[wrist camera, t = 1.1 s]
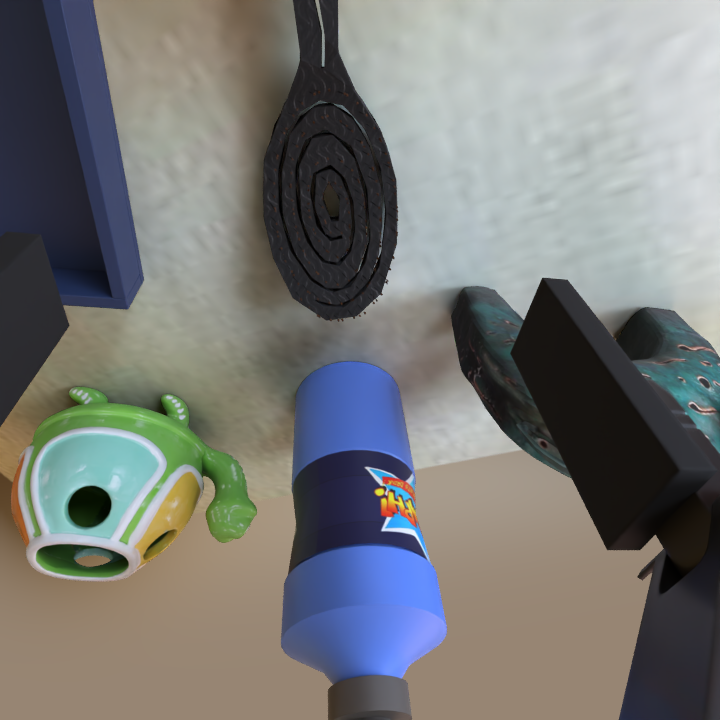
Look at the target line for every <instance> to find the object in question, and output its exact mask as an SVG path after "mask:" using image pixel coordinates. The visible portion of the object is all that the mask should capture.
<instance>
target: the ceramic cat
mask: <svg viewBox="0 0 720 720" xmlns="http://www.w3.org/2000/svg"><path fill="white" fill-rule="evenodd" d="M451 318H452V326H453V330H454V337H455V342H456V347H457V351H458V357H459V362H460V366H461V370H462V372H463V374H464V376H465V377H466V378H467V379H468V381H469V382H470V383H471V384H472V386H473V387H474V388H475V390H476V392H477V394H478V396H479V397H480V399H481V401H482V403H483V404H484V406H485V408H486V409H487V411H488V412H489V413H490V415H491V416H492V417H493V419H494V420H495V421H496V423H497V424H498V425H499V427H500V428H501V429H502V431H503V432H504V433H505V434H506V435H507V436H508V437H509V438H510V439H512V440H513V441H514V442H515V443H516V444H517V445H518V446H519V447H521V448H522V449H523V450H525V451H526V452H527V453H529V454H530V455H531V456H533V457H534V458H536V459H537V460H539V461H541V462H543V463H544V464H546V465H547V466H549V467H551V468H553V469H555V470H556V471H558V472H560V473H562V474H564V475H566V476H568V477H570V478H571V476H570V474H569V472H568V469H567V467H566V465H565V463H564V461H563V459H562V457H561V455H560V453H559V451H558V449H557V447H556V445H555V443H554V441H553V439H552V437H551V435H550V433H549V431H548V429H547V427H546V425H545V423H544V421H543V419H542V417H541V415H540V413H539V411H538V409H537V407H536V405H535V403H534V401H533V399H532V397H531V394H530V392H529V390H528V388H527V386H526V384H525V382H524V380H523V378H522V376H521V374H520V372H519V370H518V368H517V366H516V364H515V362H514V360H513V358H512V356H511V354H510V352H511V350H512V348H513V345H514V343H515V341H516V338H517V336H518V334H519V331H520V329H521V327H522V324H523V322H524V320H523V319H522V318H521V317H520V316H519V315H518V314H517V313H516V312H515V311H514V310H513V309H512V308H511V307H510V306H509V305H508V304H507V302H506V301H505V300H504V299H503V298H502V297H501V296H499V295H498V293H497V292H496V291H495V290H491V289H489V288H485V287H466V288H464V289H463V290H462V292H461V294H460V296H459V299H458V302H457V306H456V308H455V309H454V311H453V314H452V316H451ZM616 342H617V343H618V345H619V346H620V347H621V348H622V350H623V351H624V352H625V353H626V355H627V356H628V357H629V359H630V360H631V361H632V362H633V364H634V365H635V366H636V367H637V369H638V370H639V371H640V373H641V374H642V375H643V376H644V378H645V379H649V380H653V381H654V382H656V383H657V384H658V385H660V386H661V387H662V388H664V389H665V390H666V391H667V392H669V393H670V394H671V395H672V396H673V397H674V398H675V399H676V401H677V402H678V403H679V404H680V405H681V407H682V408H683V409H684V410H685V415H689V416H690V418H691V419H692V420H693V421H694V423H695V424H696V425H697V426H696V428H697V429H700V430H701V431H702V432H703V434H704V435H705V436H706V437H707V438H708V440H709V441H710V442H711V443H712V445H713V446H714V447H715V448H716V449H717V451H718V452H719V453H720V357H719V356H718V354H717V353H716V351H715V350H714V348H713V347H712V346H711V344H710V343H709V342H708V341H707V340H706V339H704V338H703V337H702V336H700V335H699V334H698V333H697V332H696V331H694V330H693V329H692V328H691V327H690V326H689V325H688V324H687V323H686V322H685V321H684V320H683V319H682V318H681V317H680V316H679V315H678V314H677V313H676V312H675V311H671V310H664V309H657V308H649V307H646V308H643V309H641V310H640V311H638V312H637V313H636V314H635V315H634V316H633V317H632V318H631V319H630V320H629V322H628V323H627V325H626V327H625V328H624V330H623V332H622V334H621V335H620V337H619V338H618V339H617V340H616Z"/></svg>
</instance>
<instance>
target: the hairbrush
mask: <svg viewBox="0 0 720 720" xmlns="http://www.w3.org/2000/svg"><path fill="white" fill-rule="evenodd" d="M293 3H294V11H295V18H296V25H297V33H298V40H299V47H300V62H299V66H298V69H297V73H296V76H295V79H294V82H293V84H292V87H291V90H290V93H289V96H288V98H287V100H286V102H285V103H284V106H283V108H282V111H281V113H280V115H279V117H278V119H277V121H276V123H275V125H274V129H273V133H272V137H271V141H270V144H269V146H268V149H267V152H266V155H265V159H264V181H263V202H264V220H265V225H266V229H267V233H268V238H269V242H270V246H271V250H272V255H273V259H274V261H275V263H276V265H277V267H278V269H279V271H280V273H281V275H282V277H283V279H284V281H285V283H286V285H287V287H288V289H289V291H290V293H291V295H292V297H293V299H295V300H296V301H298V302H299V303H301V304H302V305H304V306H305V307H307V308H308V309H310V310H311V311H313V312H314V313H316V314H317V316H319V317H320V316H321V317H322V318H324V319H325V320H330V321H332V320H333V319H337V320H338V321H339V319H340V318H348V317H353V318H354V319H355V316H357V315H358V314H359V317H361V316H360V313H361V312H362V311H363V310H364V309H365V308H366V307H367V306H368V305H369V304H370V303H371V302H373V300H374V299H376V298H377V297H378V296H379V295H383V294H382V293H381V292H382V289H383V286H384V283H387V281H388V280H387V281H386V282H385V280H386V276H387V273H388V270H391V269H390V268H389V267H390V264H391V261H392V258H393V259H394V256H393V254H394V251H395V248H396V245H397V236H398V235H397V234H398V232H397V221H398V210H397V208H398V206H397V187H396V178H395V174H394V170H393V167H392V163H391V159H390V155H389V152H388V149H387V146H386V143H385V140H384V138H383V135H382V132H381V130H380V128H379V126H378V124H377V123H376V121H375V119H374V118H373V116H372V115H371V113H370V112H369V110H368V108H367V107H366V105H365V104H364V102H363V100H362V99H361V97H360V96H359V95H358V93H357V92H356V90H355V89H354V86H353V84H352V82H351V79H350V77H349V75H348V73H347V70H346V68H345V66H344V64H343V61H342V59H341V57H340V55H339V50H338V0H319V3H320V9H321V15H322V21H323V28H324V34H325V67H322V30H321V26H320V21H319V17H318V12H317V7H316V3H315V0H293ZM318 101H325V102H330V103H322V104H318V105H316V106H314V107H312V108H311V109H310V110H308V111H307V112H306V113H304V114H303V115H301V116H300V118H299V119H298V121H297V123H296V124H295V126H294V128H293V130H292V132H291V134H290V137H289V141H288V144H287V148H286V152H285V157H284V164H283V170H282V202H283V213H282V204H281V196H280V187H279V172H280V167H281V161H282V155H283V150H284V144H285V138H286V136H287V133H288V130H289V129H290V127H291V125H292V124H293V122H294V121H295V119H296V117H297V116H298V114H299V113H300V112H301V111H303V110H304V109H306V108H308V107H310V106H311V105H313V104H315V103H317V102H318ZM332 103H335V104H339V105H343V106H344V107H345V108H346V109H347V110H348V111H349V112H350V113H351V114H352V115H353V117H354V118H355V119H356V120H357V121H358V122H359V123H360V124H361V126H362V127H363V128H364V129H365V131H366V133H367V135H368V138H369V140H370V142H371V144H372V147H373V149H374V152H375V155H376V157H377V161H378V164H379V168H380V171H381V175H382V181H383V190H384V202H385V220H384V230H383V240H382V246H381V245H380V243H381V241H380V238H381V229H382V205H381V186H380V182H379V177H378V174H377V170H376V167H375V163H374V160H373V156H372V152H371V149H370V146H369V144H368V142H367V140H366V138H365V136H364V134H363V133H362V131H361V129H360V127H359V126H358V124H357V123H356V121H355V120H354V118H353V117H352V116H351V115H350V114H348V113H347V112H346V111H344V110H342V109H341V108H339V107H337V106H335V105H334V104H332ZM325 129H326V130H328V131H329V133H319V132H321V131H323V130H325ZM317 133H318V134H317ZM310 137H312V138H311V139H310V141H309V143H308V144H307V146H306V147H305V150H304V151H303V153H302V157H301V161H300V164H299V190H300V202H301V213H300V207H299V201H298V195H297V189H296V180H297V169H298V159H299V155H300V152H301V149H302V147H303V144H304V142H305V141H306V140H307V139H308V138H310ZM339 138H340V139H341V140H343V141H345V142H346V143H348V144H349V146H350V147H351V149H352V150H353V152H354V153H355V156H356V159H357V162H358V164H359V167H360V170H361V173H362V175H363V178H364V181H365V188H366V197H367V206H368V215H369V226H370V228H369V241H368V244H367V237H366V235H367V233H366V229H367V226H366V222H367V221H366V217H365V209H366V207H365V199H364V192H363V187H362V182H361V178H360V174H359V171H358V167H357V163H356V159H355V156H354V155H353V153H352V152H351V151H350V150H349V148H348V147H347V146H346V145H345V144H344V143H343V142H342V141H341V140H340V139H339ZM328 165H329V166H328ZM326 166H327V167H326ZM333 167H334V168H335V169H336V170H337V171H338V172H339V173H340V174H342V175H343V176H344V178H345V179H346V182H347V184H348V187H349V190H350V193H351V196H352V201H353V206H354V218H355V221H354V235H353V241H352V243H351V245H350V239H351V238H350V236H351V225H352V221H351V205H350V201H349V197H348V193H347V189H346V185H345V182H344V179H343V177H342V176H341V175H340V174H339V173H338V172H337V171H336V170H335V169H334V168H333ZM316 171H318V172H317V173H316V178H315V190H314V201H315V209H316V212H317V214H318V217H319V220H320V223H321V224H320V223H319V221H318V219H317V217H316V215H315V213H314V206H313V200H312V193H311V183H312V177H313V174H314V173H315V172H316ZM328 183H330V184H331V186H332V187H333V188H334V190H335V191H336V193H337V194H338V197H339V200H340V209H339V215H338V216H337V217H330V215H329V213H328V210H327V207H326V204H325V201H324V190H325V189H326V187H327V185H328ZM301 214H302V218H301ZM283 216H284V220H285V223H286V226H287V229H288V233H289V236H290V239H291V242H292V244H291V242H290V239H289V237H288V235H287V232H286V230H285V228H284V221H283ZM302 220H303V223H304V225H305V228H306V230H307V233H308V235H309V237H308V236H307V234H306V233H305V231H304V228H303V224H302ZM321 225H322V226H321ZM325 233H326V234H327V235H326V234H325ZM309 238H310V239H309ZM349 245H350V247H349ZM366 245H367V248H366ZM379 247H382V249H381V253H380V256H379V258H378V255H379ZM348 248H349V250H348ZM365 248H366V251H365ZM346 251H348V252H347V254H346V255H345V256H344V257H342V256H343V255H344V254H345V252H346ZM364 251H365V254H364ZM363 254H364V257H363ZM320 255H321V256H320ZM297 256H298V258H299V259H300V260H299V259H298V258H297ZM362 257H363V258H362ZM362 259H363V260H362ZM377 259H378V261H377V263H376V260H377ZM361 260H362V263H361ZM300 261H301V262H302V263H301V262H300ZM360 263H361V266H360V270H359V271H358V268H359V265H360ZM375 264H376V265H375ZM374 266H375V268H374ZM373 268H374V269H373ZM357 271H358V272H357ZM372 271H373V272H372ZM371 274H372V275H371ZM376 301H377V299H376ZM373 304H375V302H373ZM364 314H366V312H364ZM341 320H342V321H343V319H341Z"/></svg>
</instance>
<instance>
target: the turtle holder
mask: <svg viewBox="0 0 720 720" xmlns="http://www.w3.org/2000/svg"><path fill="white" fill-rule="evenodd" d="M69 395H70V397H71V398H72V399H73V400H74V401H76V402H77V403H78V404H80V405H78V406H74V407H71V408H68V409H65V410H63V411H61V412H58V413H56V414H54V415H52V416H50V417H48V418H47V419H45V420H44V421H43V422H42V423H41V424H40V425H39V427H38V428H37V430H36V431H35V434H34V437H33V442H32V443H31V445H30V446H28V447H27V448H25V450H24V451H23V452H22V453H21V455H20V457H19V466H18V468H17V471H16V474H15V478H14V481H13V486H12V494H11V505H12V515H13V518H14V520H15V523H16V525H17V527H18V530H19V532H20V534H21V536H22V539H23V541H24V543H25V545H26V547H27V549H26V557H27V559H28V562H29V563H30V565H31V566H32V567H33V568H34V569H35V570H37V571H38V572H40V573H42V574H46V575H48V576H53V577H56V578H63V579H69V580H78V581H115V580H122V579H125V578H127V577H129V576H130V575H132V574H133V573H134V572H136V571H137V570H139V569H140V568H142V567H143V566H144V565H145V564H146V563H147V562H149V561H150V560H152V559H153V558H155V557H156V556H158V555H159V554H160V553H162V552H163V551H164V550H165V549H166V548H167V547H168V546H169V545H170V544H171V543H172V542H173V541H174V540H175V539H176V538H177V537H178V535H179V534H180V533H181V532H182V530H183V529H184V527H185V526H186V524H187V523H188V521H189V519H190V518H191V516H192V513H193V511H194V509H195V507H196V505H197V503H198V502H199V500H200V498H201V496H202V493H203V490H204V483H203V479H202V478H203V476H206V477H209V478H210V479H211V480H212V481H213V483H214V485H215V497H214V499H213V501H212V502H211V504H210V505H209V507H208V509H207V511H206V519H207V523H208V526H209V530H210V532H211V534H212V536H213V537H215V538H216V539H217V540H218V541H219V542H222V543H226V542H229V541H231V540H233V539H238V538H241V537H242V536H243V535H244V533H245V532H246V531H247V530H248V529H249V527H250V523H251V521H252V520H253V518H254V517H255V515H256V514H257V509H256V507H255V505H254V504H253V503H252V501H251V500H250V499H249V498H248V494H247V485H246V479H245V475H244V473H243V469H242V467H241V466H240V465H239V462H238V461H237V460H235V459H233V457H232V456H231V455H229V454H226V453H224V452H220V451H217V450H214V449H212V448H210V447H208V446H207V445H206V444H205V443H204V442H203V441H202V440H201V439H200V438H199V437H198V436H197V435H196V434H195V433H193V432H192V431H191V430H190V429H189V428H188V425H189V412H188V408H187V406H186V404H185V403H184V402H183V401H182V400H181V399H180V398H178V397H176V396H174V395H170V394H165V395H163V396H162V397H161V403H162V406H163V407H164V409H165V411H166V414H167V416H165V415H163V414H160V413H158V412H155V411H151V410H148V409H145V408H141V407H137V406H132V405H126V404H117V403H109V402H108V399H107V397H106V396H105V395H104V394H103V393H101V392H99V391H97V390H95V389H92V388H86V387H75V388H72V389H71V390H70V392H69ZM89 555H98V556H104V557H107V558H109V559H110V560H111V561H110V562H108V563H106V564H103V565H100V566H94V567H86V566H82V565H80V564H78V563H77V562H76V561H75V560H76V559H78V558H81V557H84V556H89Z"/></svg>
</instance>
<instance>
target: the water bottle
mask: <svg viewBox="0 0 720 720" xmlns="http://www.w3.org/2000/svg"><path fill="white" fill-rule="evenodd" d="M292 493H293V499H294V509H295V518H296V529H295V535H294V541H293V548H292V553H291V560H290V566H289V572H288V576H287V578H286V580H285V583H284V596H283V617H282V633H281V647H282V649H283V650H284V652H285V653H286V654H287V655H288V656H290V657H291V658H293V659H295V660H297V661H299V662H301V663H303V664H306V665H307V666H310V667H312V668H314V669H316V670H318V671H320V672H323V673H324V674H325V675H326V676H327V678H328V679H329V680H330V681H331V682H332V684H333V686H331V687H330V688H329V689H328V720H412V716H411V708H410V699H409V692H408V683H407V682H406V681H405V680H403V679H402V677H403V675H404V673H405V672H406V670H407V668H408V667H409V665H410V664H412V663H413V662H415V661H416V660H418V659H419V658H421V657H422V656H424V655H425V654H426V653H428V652H429V651H431V650H432V649H434V648H435V647H437V646H438V645H439V644H440V643H441V642H442V641H443V640H444V638H445V636H446V633H447V626H446V621H445V616H444V611H443V606H442V600H441V595H440V590H439V585H438V580H437V575H436V571H435V569H434V567H433V566H432V565H431V562H430V559H429V556H428V553H427V549H426V546H425V543H424V540H423V536H422V533H421V530H420V527H419V523H418V520H417V517H416V508H415V473H414V467H413V462H412V456H411V450H410V445H409V439H408V434H407V429H406V424H405V418H404V413H403V408H402V402H401V397H400V392H399V389H398V386H397V384H396V382H395V381H394V379H393V378H392V377H391V376H390V375H389V374H388V373H387V372H385V371H384V370H382V369H380V368H379V367H376V366H373V365H371V364H367V363H362V362H349V361H347V362H338V363H334V364H330V365H326V366H324V367H322V368H320V369H318V370H316V371H314V372H313V373H311V374H310V375H309V376H308V377H307V378H306V379H305V380H304V381H303V382H302V383H301V385H300V387H299V388H298V391H297V394H296V405H295V425H294V445H293V469H292Z"/></svg>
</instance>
